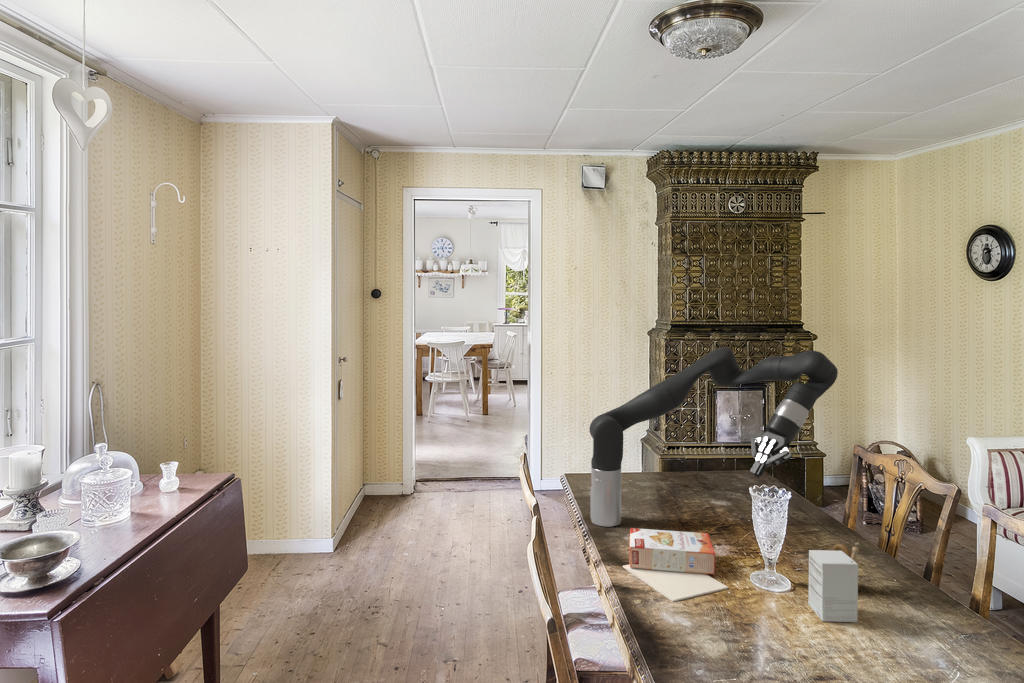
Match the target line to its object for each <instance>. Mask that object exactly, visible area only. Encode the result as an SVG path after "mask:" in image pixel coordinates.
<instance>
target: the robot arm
mask: <svg viewBox="0 0 1024 683" xmlns="http://www.w3.org/2000/svg"><path fill="white" fill-rule="evenodd" d="M737 360H738V359H737V357H736V356H735V354H734V352H733V350H732V349H731V347H729V346H723V347H719V348H716V349H714V350H711V351H710V352H708V353H706V354H705V355H703V356H701V357H700V358H699V359H698V360H695V362H693V363H692V364H690V365H689V366H687V367H686V368H684V369H682V370H680V371H679V372H677V373H675V374H674V375H672V376H670V377H669V378H665V379H664V380H662V381H660V382H658V383H657V384H655V385H653V386H651V387H650V388H648V389H646V390H645V391H643V392H641V393H640V394H638V395H636V396H635V397H633V398H632V399H630V400H628V401H626V403H624V404H622V405H620V406H618V407H615V408H613V409H611V410H609V411H606V412H605V413H602V414H600V415H598V416H596V417H595V418H593V420H592V421H591V422H590V425H589V433H590V436H591V438H592V439H593V440H592V442H593V443H592V444H593V446H592V448H593V450H592V457H591V462H590V463H591V465H590V466H591V468H590V469H591V470H590V472H591V475H590V476H591V477H590V478H591V479H590V480H591V488H590V490H589V493H590V494H589V497H590V500H589V502H590V503H589V507H590V509H589V510H590V511H589V512H590V513H589V514H590V516H589V517H590V518H589V519H590V520H591V522H592V524H593V525H596V526H598V527H599V526H600V527H608V528H609V527H614V526H619V525H621V523H622V462H623V458H624V432H625V431H626V430H628V429H629V428H631V427H633V426H634V425H636V424H639V423H643V422H646V421H649V420H652V419H656V418H659V417H662V416H664V415H666V414H668V413H670V412H671V411H674V410H675V409H677V408H679V407H680V406H681V405H682V404H683V403H684V402H685V400H686V399H687V397H688V396H689V393H690V392H691V390H692V388H693V386H694V385H695V384H696V382H697V381H698V380H699V379H700V378H701V377H702V376H703V375H705V374H706V373H707V372H708V374H709V376H710V378H711V379H712V382H713V383H714V385H717V386H719V387H728V386H737V385H744V384H745V385H746V384H752V383H757V382H758V383H759V382H766V381H771V382H772V381H774V382H775V381H776V382H777V381H779V382H780V381H781V382H790V381H791V382H792V381H797V380H799V379H800V378H801V377H802V375H804V376H806V378H808V380H807V381H806V382H805V383H803V382H795V383H793V384H791V386H790V387H789V389H788V391H787V393H786V394H785V396H784V397H783V399H782V400H781V402H780V403H779V404H778V405H777V407H776V408H775V410H774V412H773V414H772V415H771V417H770V419H769V420H768V422H767V423H766V425H765V431H764V432H762V434H760V437H756V438H755V437H754V436H752V437H751V438H750V447H751V448H750V449H751V456H752V457H753V459H755V461H754V462H753V464H752V467H751V468H750V469H749V474H750V475H752V477H755V478H757V479H760V477H762V476H763V475H764V472H765V471H766V469H767V468H768V467H773V468H775V467H777V466H779V465H781V464H783V463H785V462H787V461H789V460H791V459H792V458H793V454H792V453H791V451H790V450H789V449H790V447H791V446H790V444H791V443H793V442H794V441H795V439H796V437H797V436H798V434H799V432H800V431H801V429H802V427H803V426H804V424H805V422H806V420H807V418H808V415H809V413H810V412H811V410H812V408H813V407H814V406H815V403H816V401H817V400H819V398H820V397H821V396H823V395H824V394H825V393H826V392H827V391H828V390H829V389H830V388H831V387H832V386H833V385H834V384H835V382H836V380H837V378H838V373H839V372H838V368H837V366H836V365H835V364H834V363H833V362H832V361H831V360H830V359H829V358H828V357H827V356H826V355H825V354H824V353H822V352H821V351H817V350H806V351H802V352H799V353H798V352H797V353H795V354H793V355H780V356H779V355H778V356H777V355H776V356H774V355H773V356H769V357H766V358H763V359H762V360H760V361H759V362H758V363H756V364H755V365H754V366H753V367H752V368H750V369H742V368H741V367H740V366H741V365H739V362H738V361H737Z"/></svg>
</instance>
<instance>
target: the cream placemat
mask: <svg viewBox="0 0 1024 683" xmlns="http://www.w3.org/2000/svg"><path fill="white" fill-rule="evenodd" d="M622 568H624V570H626V571H627V572H628V573H630V574H632V575H633V576H635V577H636V578H637V579H639V580H641V581H642V582H643V583H645V584H646V585H648V586H649V587H651V588H652V589H653V590H655V591H656V592H658V593H659V594H661V595H662V596H664V597H665V598H667V599H668V600H669V601H671V602H673V603H675V602H678V601H682V600H686V599H687V600H688V599H690V598H695V597H698V596H703V595H707V594H711V593H715V592H716V593H717V592H719V591H724V590H729V586H727V585H725V584H724V583H722V582H720V581H719V580H716V579H715V578H713V577H712V576H710V575H709V574H703V573H690V572H678V571H665V570H653V569H641V568H630V563H629V564H625V565H622Z"/></svg>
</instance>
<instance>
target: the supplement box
mask: <svg viewBox="0 0 1024 683" xmlns="http://www.w3.org/2000/svg"><path fill="white" fill-rule="evenodd" d="M858 592H859V564H858V563H857V562H856V561H854V560H852V559H851V558H850V557H849V556H848V555H846V554H845V553H844V552H843V551H833V550H826V549H825V550H818V549H809V550H808V595H807V596H808V598H807V599H808V601H807V603H808V606H809V607H810V608H811V609H812V611H813V612H814V613H815V615H816V616H817V617H818V618H819V619H820V620H821V622H839V623H858V618H859V616H858V607H859V606H858V605H859V604H858V602H859V601H858V599H859V598H858V596H859V593H858Z"/></svg>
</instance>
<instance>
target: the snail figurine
mask: <svg viewBox="0 0 1024 683" xmlns="http://www.w3.org/2000/svg"><path fill="white" fill-rule="evenodd" d="M859 545H860V542H855V546H853V547H852V548H851V550H850V549H849V547H847V545H845V544H843V543H840V542H839V543H835V544H833V546H832V551H843V552H844V553H845V554H846V555H848V556H849V557H850V558H851V559H852V560H854V561H855V562H856V561H857V558H858V553H859V551H860V550H859ZM851 551H852V552H851Z"/></svg>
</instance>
